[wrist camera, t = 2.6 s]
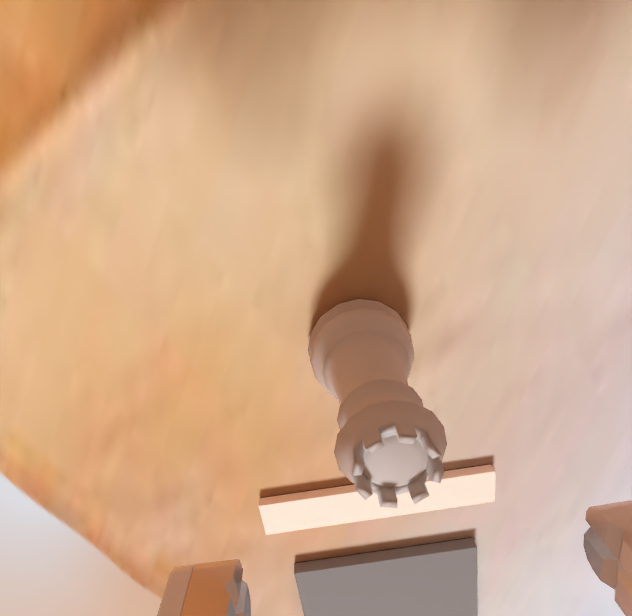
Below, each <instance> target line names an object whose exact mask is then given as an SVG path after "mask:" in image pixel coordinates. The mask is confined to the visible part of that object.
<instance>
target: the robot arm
mask: <svg viewBox="0 0 632 616" xmlns="http://www.w3.org/2000/svg"><path fill="white" fill-rule="evenodd" d="M585 520H586V521H587V522H588V524H589V525H590V526H591V527H590V528H589V529H588V531H587V532H586V533H585V534H584V549H585V552H586V556H587V559H588V561H589V563H590V565H591V567H592V569H593V570H594V572H595V573H596V575H597V576H598V578H599V579H600V580H601V581H602V582H604V583H606V584H607V585H609V586H610V587H612V588H613V589H615V601H616V603H617V604H618V606H619V607H620V608H621V610H622V611H623V612H624V614H625V615H626V616H632V501H624V502H618V503H612V504H605V505H599V506H593V507H589V509H588V510H587V511H586V519H585ZM242 573H243V568H242V565H241V562H240V560H239V559H236V560H227V561H219V562H210V563H202V564H194V565H187V566H179V567H174V569H173V570H172V572H171V573H170V575H169V579H168V582H167V585H166V588H165V591H164V595H163V598H162V601H161V604H160V608H159V611H158V614H157V616H251V607H250V595H249V590H248V586H247V583H245V582H244V581H243V580H242Z"/></svg>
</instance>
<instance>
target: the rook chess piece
mask: <svg viewBox="0 0 632 616" xmlns="http://www.w3.org/2000/svg"><path fill="white" fill-rule="evenodd" d="M308 352H309V356H310V361H311V364H312V368H313V371H314V375H315V378H316V379H317V380H318V382H319V383H320V384H321V385H322V386H323V387H324V389H325V390H326V391H327V392H328V393H329V394H330V395H332V396H334V397H335V398H336V399H338V400H339V403H340V409H339V414H338V419H337V421H338V424H339V428H340V432H339V433H338V435H337V440H336V446H335V451H334V453H335V457H336V460H337V464H338V467H339V470H340V471H341V472H342V473H343V474H344V475H345V476H346V477H347V478H348V479H349V480H350V481H351V482H352V483H354V485H355V490H356V491H357V492H358V493H359V494H360V495H361V496H362V497H363V498H364V499H365V500H366V499H368V498H369V497H370V496H371V495H372V494H373V493H372V492H374V493H376V494H377V495H378V500H379V504H380V507H389V508H397V501H398V500H397V497H396V495H398V494H403V493H407V492H409V493H410V496H411V498H412V500H413V502H414V504H416V503H418V502H420V501H421V500H423V499H425V498H426V497H428V496H430V495H429V493H428V490H427V487H426V485H425V483H426V481H427V480H428V479H429V478H430V480H431V481H433V482H437V483H441V480H442V477H443V473H444V470H445V468H444V466H443V464H442V458H443V455H444V452H445V449H446V446H447V442H446V436H445V430H444V426H443V425H442V424H441V422H440V421H439V420H438V418H437V417H436V416H435V414H434V413H433V412H432V411H430V410H428V409H426V408H424V407H423V403H422V399H421V398H420V397H419V396H418V394H417V393H416V392H415V390H414V389H413V388H411V387H410V386H408V383H407V379H408V376H409V375H410V372H411V368H412V364H413V360H414V350H413V344H412V339H411V335H410V334H409V332H408V328H407V325H406V324H405V322H404V321H403V320H402V318H401V317H400V316H399V314H398V313H397V311H395V310H393V309H392V308H390V307H388V306H386V305H385V304H383V303H381V302H379V301H372V300H364V299H356V300H352V301H348V302H344V303H340V304H338V305H336V306H335V307H333V308H332V309H330V310H329V311H328V312H326V313H325V314H323V315H322V316H321V317H320V319H319V320H318V322H317V324H316V325H315V327H314V328H313V330H312V331H311V334H310V341H309V347H308Z"/></svg>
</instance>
